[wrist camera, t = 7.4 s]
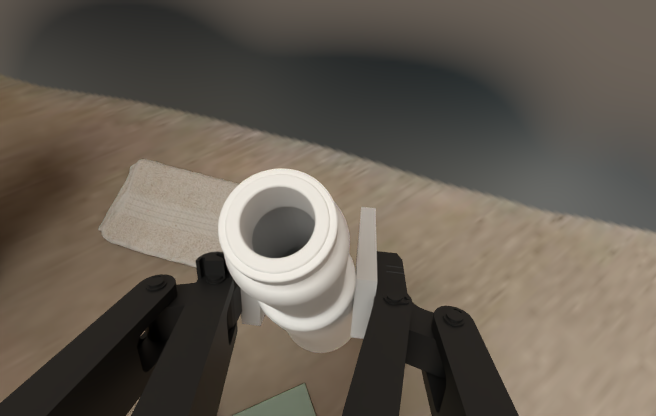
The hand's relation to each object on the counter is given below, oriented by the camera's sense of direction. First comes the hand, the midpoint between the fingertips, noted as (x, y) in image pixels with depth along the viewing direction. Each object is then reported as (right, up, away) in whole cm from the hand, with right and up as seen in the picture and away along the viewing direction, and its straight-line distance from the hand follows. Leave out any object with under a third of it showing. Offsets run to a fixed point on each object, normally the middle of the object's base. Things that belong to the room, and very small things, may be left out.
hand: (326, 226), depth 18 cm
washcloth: (-19, 0, +25) cm, 31 cm away
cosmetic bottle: (0, -7, +8) cm, 11 cm away
